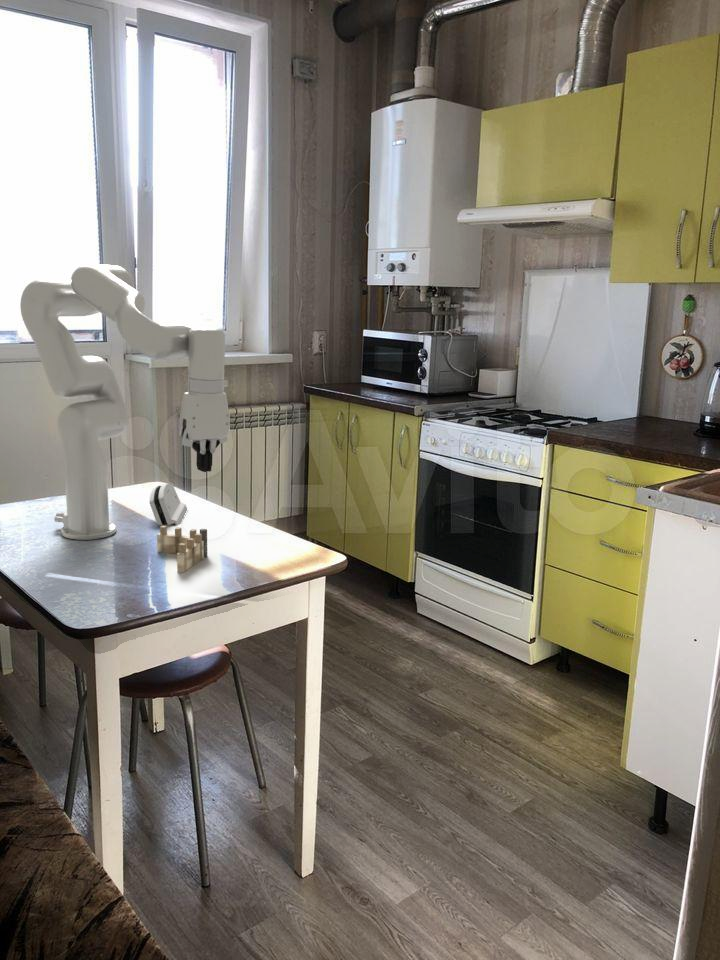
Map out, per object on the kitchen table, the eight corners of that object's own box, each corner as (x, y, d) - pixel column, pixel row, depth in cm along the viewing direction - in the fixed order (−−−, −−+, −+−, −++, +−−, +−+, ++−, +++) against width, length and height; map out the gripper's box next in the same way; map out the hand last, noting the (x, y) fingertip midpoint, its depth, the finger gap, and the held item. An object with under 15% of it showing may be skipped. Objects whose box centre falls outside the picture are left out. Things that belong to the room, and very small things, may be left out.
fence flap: (198, 557, 175) (198, 532, 174) (203, 558, 175) (203, 533, 173) (177, 572, 166) (176, 545, 164) (182, 572, 165) (182, 546, 164)
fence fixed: (157, 552, 178) (156, 525, 176) (160, 550, 179) (159, 523, 178) (205, 559, 175) (205, 531, 174) (208, 556, 177) (208, 529, 175)
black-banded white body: (178, 528, 198) (164, 491, 196) (160, 534, 198) (145, 497, 196) (188, 509, 214) (174, 475, 212) (171, 515, 214) (157, 481, 212)
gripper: (225, 382, 176) (223, 463, 181) (165, 385, 166) (164, 470, 171) (245, 387, 171) (242, 470, 175) (184, 390, 161) (182, 478, 165)
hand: (204, 470), depth 173 cm, fingers closed
